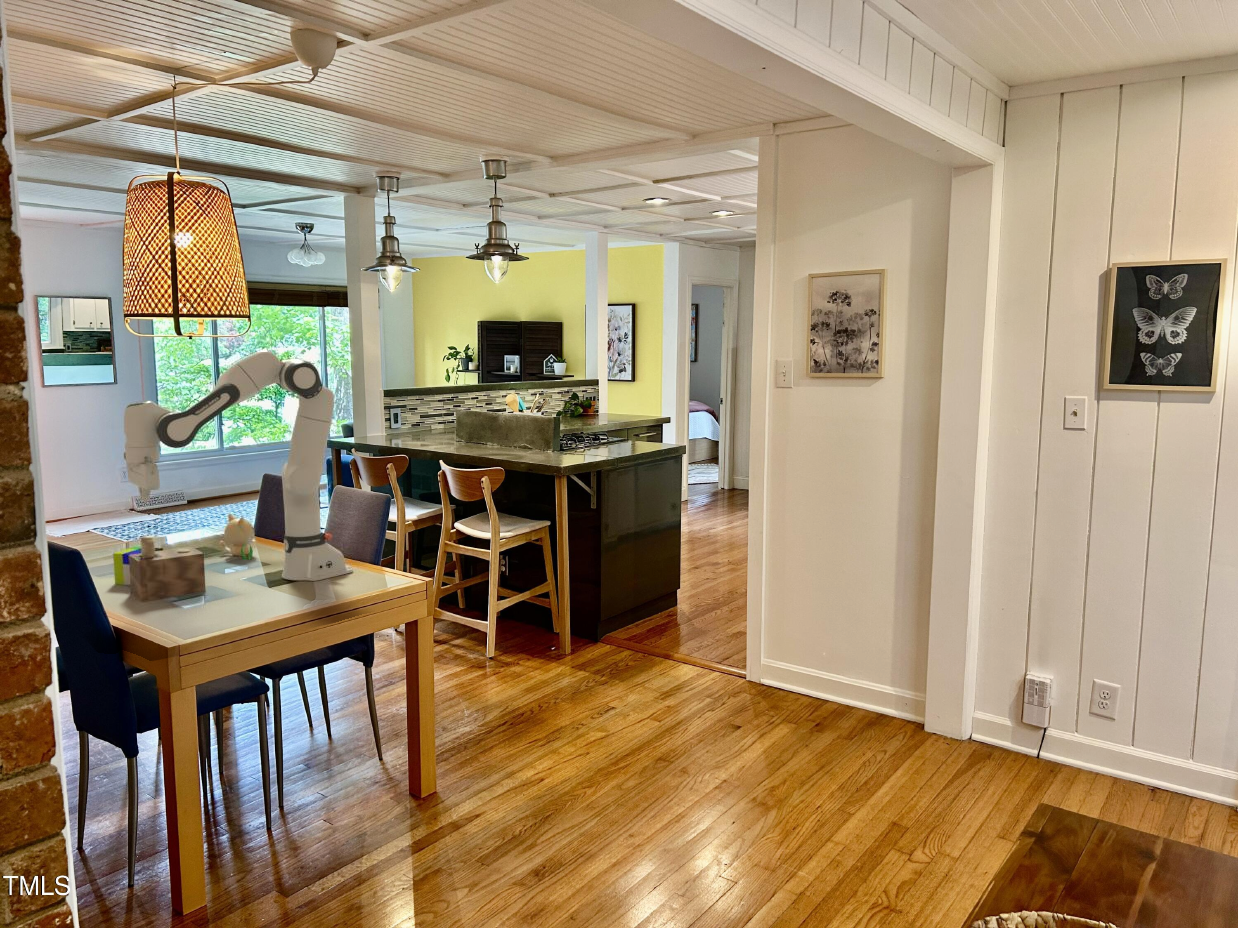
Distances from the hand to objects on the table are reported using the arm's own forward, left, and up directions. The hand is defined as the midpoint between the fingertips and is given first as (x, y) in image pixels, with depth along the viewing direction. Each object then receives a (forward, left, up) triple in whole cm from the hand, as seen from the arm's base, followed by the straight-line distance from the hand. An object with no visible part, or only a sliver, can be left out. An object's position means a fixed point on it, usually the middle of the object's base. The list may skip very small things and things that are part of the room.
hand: (145, 501), depth 264 cm
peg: (0, 0, -23) cm, 23 cm away
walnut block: (-5, 0, -29) cm, 29 cm away
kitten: (-39, -35, -29) cm, 60 cm away
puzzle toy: (-2, -20, -29) cm, 36 cm away
